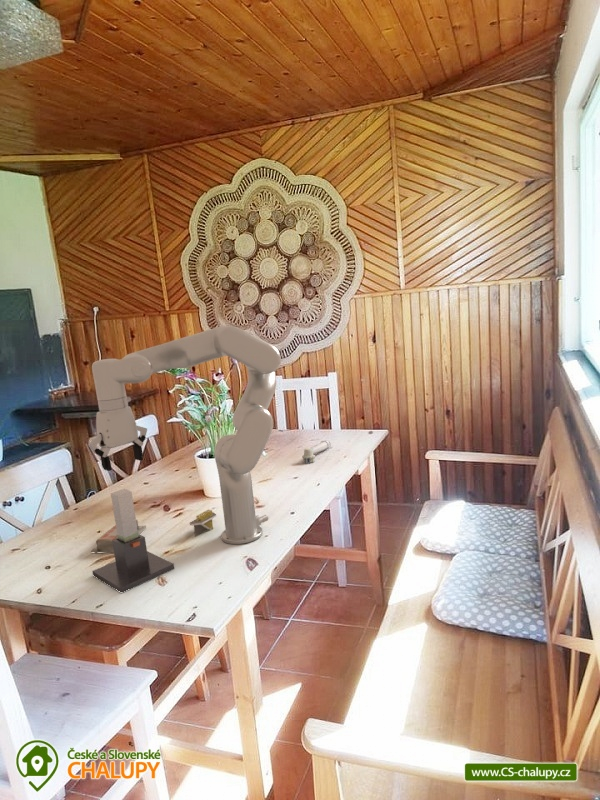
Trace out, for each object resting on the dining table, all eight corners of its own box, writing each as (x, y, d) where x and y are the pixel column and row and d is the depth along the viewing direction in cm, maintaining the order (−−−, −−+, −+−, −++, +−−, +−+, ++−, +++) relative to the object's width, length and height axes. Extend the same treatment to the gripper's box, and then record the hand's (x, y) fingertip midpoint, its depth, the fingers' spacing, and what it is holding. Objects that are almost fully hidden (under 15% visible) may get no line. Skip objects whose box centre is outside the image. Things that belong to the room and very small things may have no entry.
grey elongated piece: (331, 439, 266) (311, 447, 243) (332, 454, 266) (311, 463, 243) (321, 439, 268) (299, 447, 245) (321, 454, 268) (300, 462, 245)
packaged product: (119, 539, 171) (88, 540, 173) (121, 554, 172) (91, 555, 174) (145, 516, 189) (117, 516, 191) (147, 529, 190) (119, 530, 192)
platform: (238, 524, 186) (236, 505, 185) (201, 547, 172) (198, 527, 170) (210, 520, 193) (208, 501, 192) (172, 541, 178) (169, 521, 177)
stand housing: (144, 554, 170) (139, 522, 168) (174, 568, 159) (169, 534, 157) (93, 576, 159) (87, 542, 157) (121, 593, 148) (115, 557, 146)
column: (133, 543, 160) (124, 488, 157) (140, 547, 157) (132, 491, 154) (119, 549, 157) (110, 493, 155) (126, 553, 154) (117, 496, 152)
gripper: (133, 397, 165) (143, 454, 168) (76, 410, 152) (88, 472, 156) (148, 398, 160) (157, 457, 163) (90, 412, 147) (101, 476, 151)
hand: (123, 464), depth 159 cm, fingers open, 9 cm apart
